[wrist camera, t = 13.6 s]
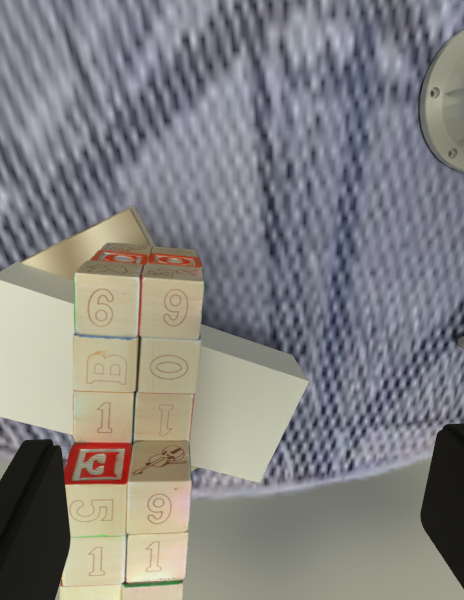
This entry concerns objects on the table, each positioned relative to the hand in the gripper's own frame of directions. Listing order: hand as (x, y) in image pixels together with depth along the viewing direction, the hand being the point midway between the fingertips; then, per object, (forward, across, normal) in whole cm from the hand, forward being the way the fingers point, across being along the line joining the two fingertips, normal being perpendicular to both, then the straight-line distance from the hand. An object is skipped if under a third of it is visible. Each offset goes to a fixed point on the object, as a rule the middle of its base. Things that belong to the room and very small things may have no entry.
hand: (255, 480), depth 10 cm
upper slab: (+25, +5, +9) cm, 27 cm away
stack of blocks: (+20, +5, +8) cm, 22 cm away
